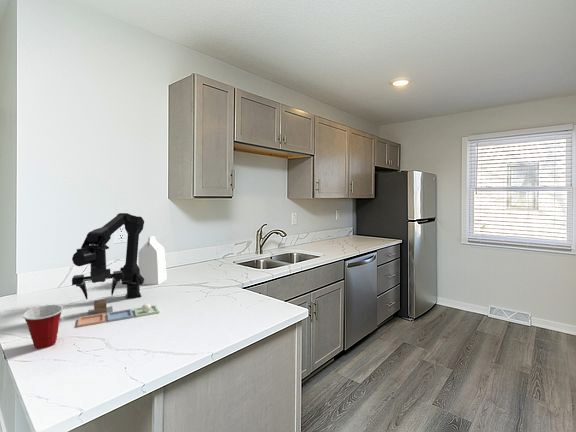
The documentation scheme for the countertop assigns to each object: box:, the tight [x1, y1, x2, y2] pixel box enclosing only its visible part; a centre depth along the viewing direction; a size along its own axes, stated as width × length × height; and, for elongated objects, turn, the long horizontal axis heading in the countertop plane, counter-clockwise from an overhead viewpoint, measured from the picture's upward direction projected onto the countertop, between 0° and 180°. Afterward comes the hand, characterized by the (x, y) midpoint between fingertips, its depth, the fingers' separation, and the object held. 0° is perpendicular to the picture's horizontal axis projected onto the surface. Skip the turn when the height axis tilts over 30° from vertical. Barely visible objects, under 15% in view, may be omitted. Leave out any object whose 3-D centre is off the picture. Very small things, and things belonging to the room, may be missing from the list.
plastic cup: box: [22, 304, 64, 350], centre depth 107 cm, size 11×11×12 cm
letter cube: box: [93, 298, 108, 314], centre depth 137 cm, size 4×4×5 cm
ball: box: [141, 303, 152, 312], centre depth 137 cm, size 4×4×4 cm
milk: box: [137, 235, 168, 285], centre depth 185 cm, size 12×12×26 cm
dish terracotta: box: [76, 313, 106, 328], centre depth 127 cm, size 9×9×1 cm
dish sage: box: [133, 304, 160, 318], centre depth 137 cm, size 9×9×1 cm
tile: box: [87, 306, 114, 316], centre depth 137 cm, size 9×9×1 cm
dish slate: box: [106, 308, 134, 323], centre depth 132 cm, size 9×9×1 cm
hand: (99, 297), depth 137 cm, fingers open, 9 cm apart
